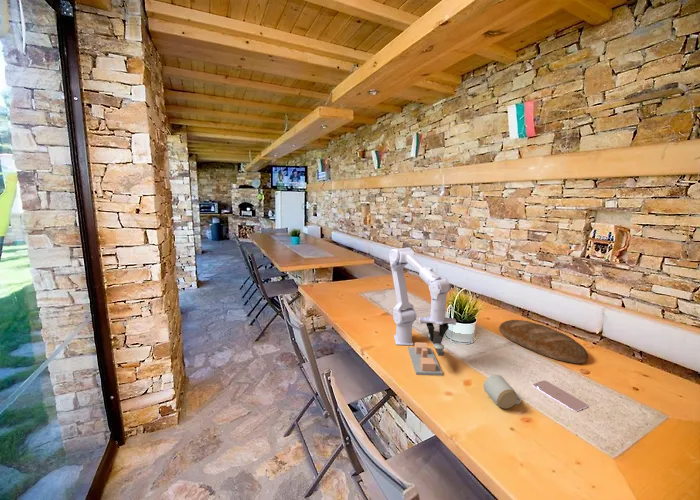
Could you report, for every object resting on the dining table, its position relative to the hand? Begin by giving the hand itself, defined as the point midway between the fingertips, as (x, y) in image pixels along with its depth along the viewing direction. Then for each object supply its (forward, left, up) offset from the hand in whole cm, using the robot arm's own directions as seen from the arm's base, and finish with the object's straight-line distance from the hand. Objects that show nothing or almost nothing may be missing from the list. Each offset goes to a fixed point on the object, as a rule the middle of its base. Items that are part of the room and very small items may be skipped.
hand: (435, 340), depth 120 cm
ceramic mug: (+23, +17, -10) cm, 30 cm away
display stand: (+1, -4, -9) cm, 10 cm away
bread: (-17, +53, -10) cm, 56 cm away
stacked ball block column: (0, 0, -2) cm, 2 cm away
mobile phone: (+20, +38, -10) cm, 44 cm away
